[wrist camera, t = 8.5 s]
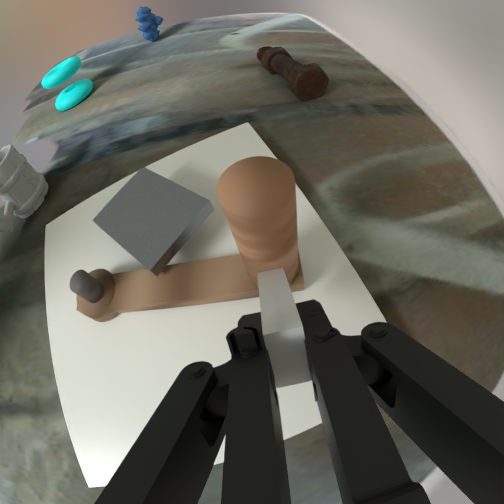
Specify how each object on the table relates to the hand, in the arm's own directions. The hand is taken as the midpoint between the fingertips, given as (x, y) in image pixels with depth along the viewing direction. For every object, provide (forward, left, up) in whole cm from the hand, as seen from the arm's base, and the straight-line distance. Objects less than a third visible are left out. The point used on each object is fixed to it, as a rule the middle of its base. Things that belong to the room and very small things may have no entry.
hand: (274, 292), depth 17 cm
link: (-6, +5, -5) cm, 9 cm away
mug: (-27, +30, -7) cm, 41 cm away
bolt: (+17, +31, -7) cm, 37 cm away
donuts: (-19, +62, -7) cm, 65 cm away
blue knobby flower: (+4, +78, -7) cm, 78 cm away
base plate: (-7, +7, -6) cm, 12 cm away
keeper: (-6, +12, -6) cm, 15 cm away
